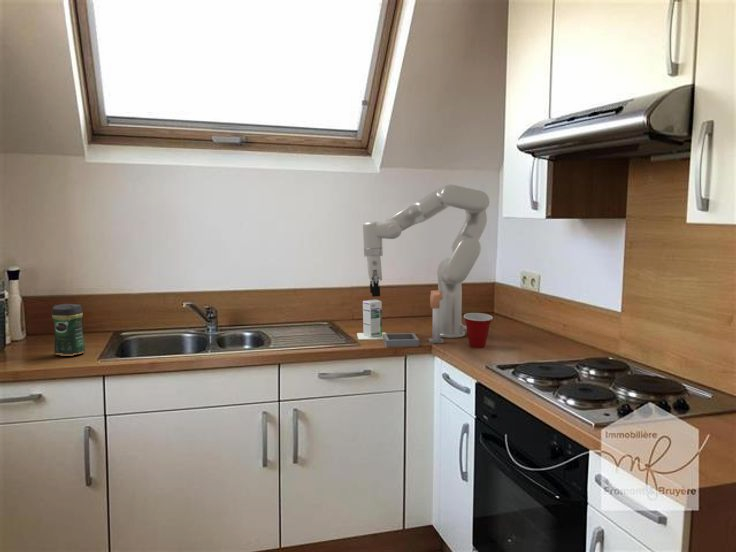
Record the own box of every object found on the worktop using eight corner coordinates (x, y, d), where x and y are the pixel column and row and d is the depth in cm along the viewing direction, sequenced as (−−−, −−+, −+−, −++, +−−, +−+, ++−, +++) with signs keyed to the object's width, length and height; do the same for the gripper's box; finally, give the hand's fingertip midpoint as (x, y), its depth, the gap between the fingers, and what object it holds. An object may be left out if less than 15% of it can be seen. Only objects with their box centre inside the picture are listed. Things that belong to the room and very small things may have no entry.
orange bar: (431, 298, 229) (431, 286, 228) (442, 298, 228) (442, 286, 227) (428, 308, 204) (428, 295, 204) (441, 308, 204) (441, 295, 203)
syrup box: (370, 337, 235) (370, 301, 234) (362, 335, 240) (362, 300, 239) (382, 336, 238) (382, 300, 237) (374, 333, 243) (374, 299, 242)
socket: (439, 338, 234) (439, 298, 232) (445, 345, 222) (446, 302, 220) (383, 340, 233) (383, 299, 231) (386, 347, 220) (386, 304, 219)
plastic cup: (470, 351, 213) (471, 318, 212) (458, 344, 224) (458, 313, 222) (497, 348, 216) (498, 316, 215) (484, 342, 227) (484, 312, 225)
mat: (385, 333, 245) (385, 332, 245) (388, 339, 234) (388, 338, 234) (356, 333, 245) (356, 333, 245) (358, 340, 233) (358, 339, 233)
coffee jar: (89, 352, 214) (86, 302, 212) (74, 358, 207) (71, 306, 205) (65, 351, 216) (62, 302, 214) (50, 357, 208) (47, 305, 206)
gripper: (384, 253, 226) (386, 297, 228) (380, 250, 243) (382, 291, 245) (365, 254, 226) (367, 298, 228) (362, 251, 243) (364, 292, 245)
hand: (375, 294), depth 237 cm, fingers open, 9 cm apart
